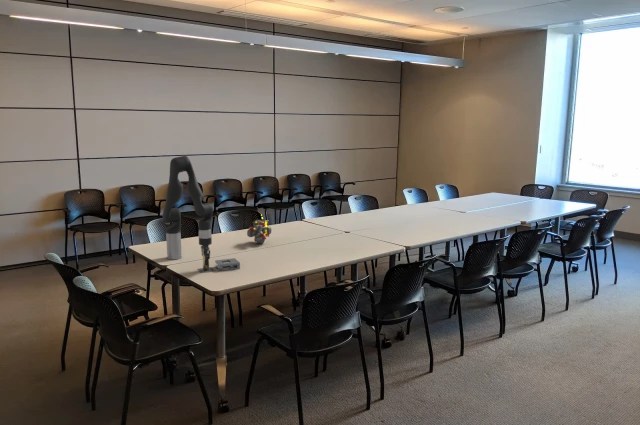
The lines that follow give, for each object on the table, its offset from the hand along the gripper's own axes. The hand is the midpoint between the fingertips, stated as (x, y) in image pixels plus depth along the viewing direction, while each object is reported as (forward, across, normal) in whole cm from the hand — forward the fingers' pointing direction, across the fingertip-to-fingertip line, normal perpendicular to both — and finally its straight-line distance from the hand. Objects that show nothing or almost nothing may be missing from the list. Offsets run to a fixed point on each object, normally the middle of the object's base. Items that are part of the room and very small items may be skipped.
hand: (206, 264), depth 304 cm
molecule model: (+4, -53, +53) cm, 75 cm away
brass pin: (+4, 0, 0) cm, 4 cm away
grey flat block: (+4, 0, +12) cm, 13 cm away
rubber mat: (+4, 0, 0) cm, 4 cm away
